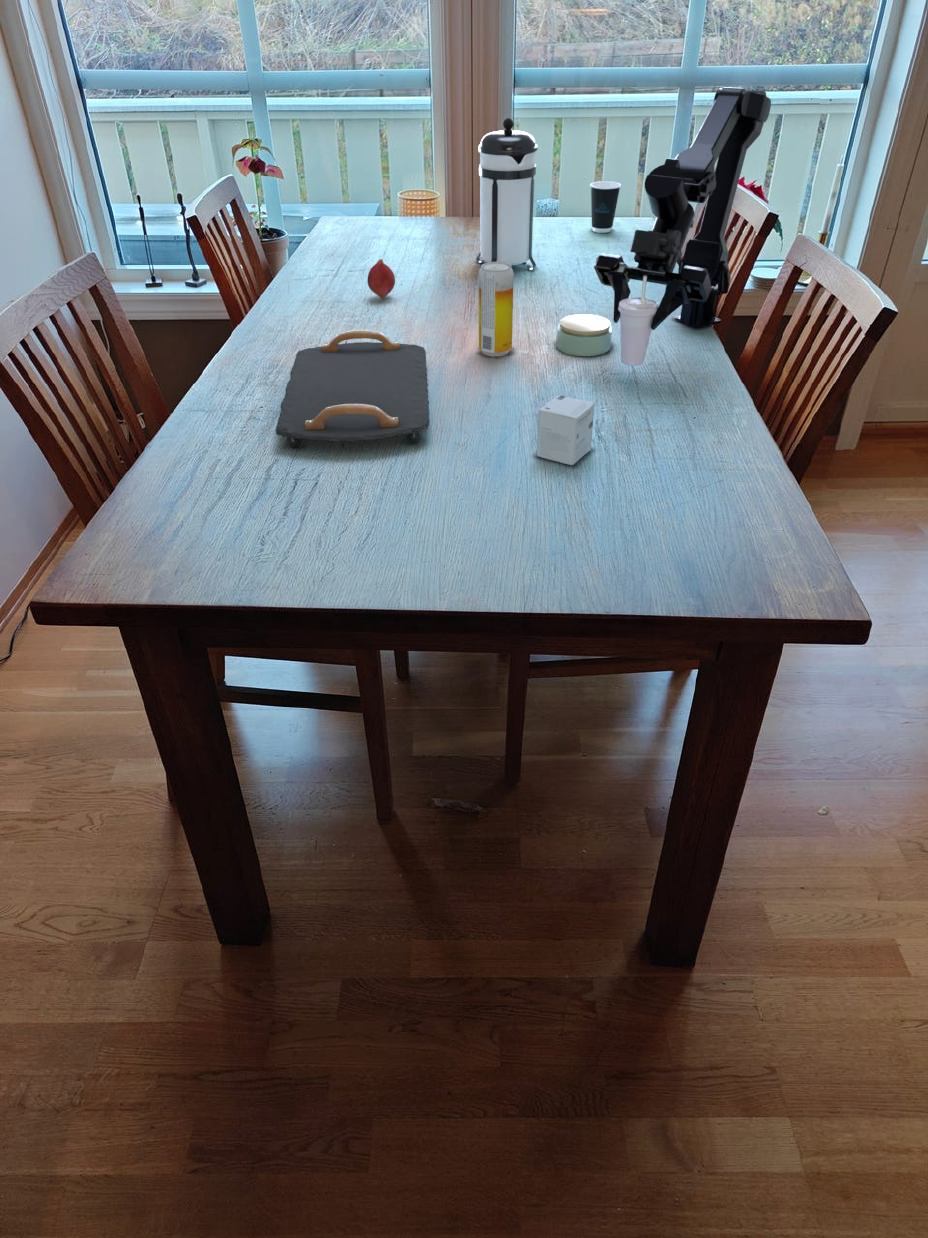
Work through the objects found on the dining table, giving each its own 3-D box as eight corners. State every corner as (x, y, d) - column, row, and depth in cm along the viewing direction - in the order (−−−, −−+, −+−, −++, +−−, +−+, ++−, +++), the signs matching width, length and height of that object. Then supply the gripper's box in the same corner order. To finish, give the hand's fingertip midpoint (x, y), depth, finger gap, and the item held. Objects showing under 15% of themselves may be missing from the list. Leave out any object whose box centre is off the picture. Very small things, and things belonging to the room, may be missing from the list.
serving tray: (431, 453, 122) (429, 413, 119) (272, 459, 122) (265, 419, 118) (426, 355, 153) (425, 321, 149) (299, 359, 152) (294, 325, 148)
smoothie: (651, 370, 138) (661, 282, 130) (612, 367, 139) (620, 281, 131) (652, 355, 143) (662, 270, 134) (614, 353, 144) (622, 268, 135)
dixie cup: (607, 225, 224) (611, 179, 217) (622, 232, 218) (627, 185, 212) (581, 228, 222) (584, 182, 215) (595, 235, 216) (599, 188, 209)
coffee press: (550, 261, 199) (558, 114, 180) (517, 278, 188) (521, 125, 169) (488, 251, 206) (489, 109, 187) (453, 267, 195) (450, 119, 177)
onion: (364, 300, 177) (360, 260, 172) (376, 292, 182) (373, 253, 177) (388, 303, 176) (386, 263, 171) (400, 295, 180) (398, 256, 175)
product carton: (573, 466, 119) (576, 418, 114) (535, 456, 121) (537, 408, 117) (591, 449, 123) (595, 402, 118) (554, 440, 125) (557, 393, 121)
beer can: (516, 347, 155) (519, 263, 146) (504, 359, 151) (505, 272, 141) (486, 343, 157) (487, 259, 148) (473, 354, 153) (472, 268, 143)
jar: (587, 332, 161) (589, 309, 158) (621, 348, 154) (624, 325, 151) (545, 343, 157) (546, 319, 154) (578, 360, 150) (580, 335, 147)
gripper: (603, 199, 133) (568, 290, 133) (717, 213, 125) (680, 309, 125) (619, 240, 143) (586, 324, 143) (725, 255, 135) (690, 344, 135)
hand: (633, 325), depth 136 cm, fingers closed on smoothie, 6 cm apart
